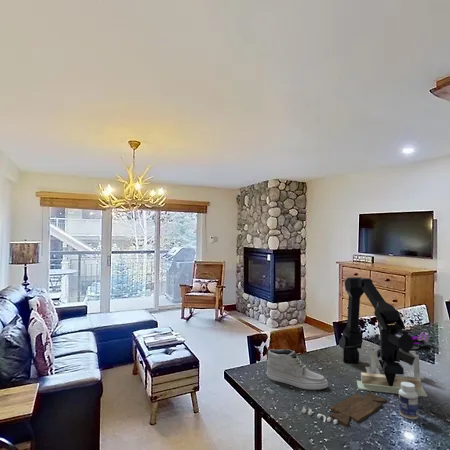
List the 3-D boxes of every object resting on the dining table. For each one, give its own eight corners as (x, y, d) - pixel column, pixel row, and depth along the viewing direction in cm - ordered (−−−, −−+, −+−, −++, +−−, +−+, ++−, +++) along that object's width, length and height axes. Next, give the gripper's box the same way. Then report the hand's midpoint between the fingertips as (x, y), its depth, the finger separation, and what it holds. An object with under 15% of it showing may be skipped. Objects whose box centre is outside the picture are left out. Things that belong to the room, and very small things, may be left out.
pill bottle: (395, 411, 107) (394, 381, 108) (411, 410, 107) (410, 380, 108) (406, 420, 102) (405, 388, 102) (422, 419, 102) (421, 387, 103)
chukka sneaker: (325, 393, 120) (324, 360, 121) (262, 380, 132) (261, 350, 133) (330, 384, 128) (329, 353, 129) (270, 372, 140) (270, 344, 141)
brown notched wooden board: (321, 417, 105) (350, 431, 97) (321, 411, 105) (350, 425, 98) (363, 393, 121) (390, 403, 113) (363, 388, 121) (390, 398, 114)
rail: (362, 383, 125) (361, 375, 125) (361, 380, 128) (361, 372, 128) (421, 389, 119) (420, 381, 119) (418, 386, 122) (418, 378, 122)
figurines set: (338, 423, 101) (337, 413, 101) (334, 427, 99) (334, 417, 99) (302, 410, 109) (302, 401, 109) (298, 414, 107) (298, 405, 107)
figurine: (445, 340, 163) (395, 346, 157) (445, 354, 163) (395, 360, 158) (409, 325, 186) (365, 329, 180) (409, 337, 187) (364, 341, 181)
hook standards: (367, 375, 136) (366, 352, 137) (365, 369, 143) (364, 346, 143) (424, 380, 130) (423, 356, 131) (419, 374, 137) (418, 351, 137)
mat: (358, 389, 123) (358, 388, 123) (356, 381, 130) (356, 380, 130) (427, 397, 117) (427, 395, 117) (421, 388, 123) (421, 387, 123)
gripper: (419, 352, 113) (421, 398, 112) (406, 336, 131) (407, 376, 130) (384, 349, 116) (385, 394, 115) (375, 334, 134) (377, 373, 133)
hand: (389, 384), depth 123 cm, fingers open, 3 cm apart
